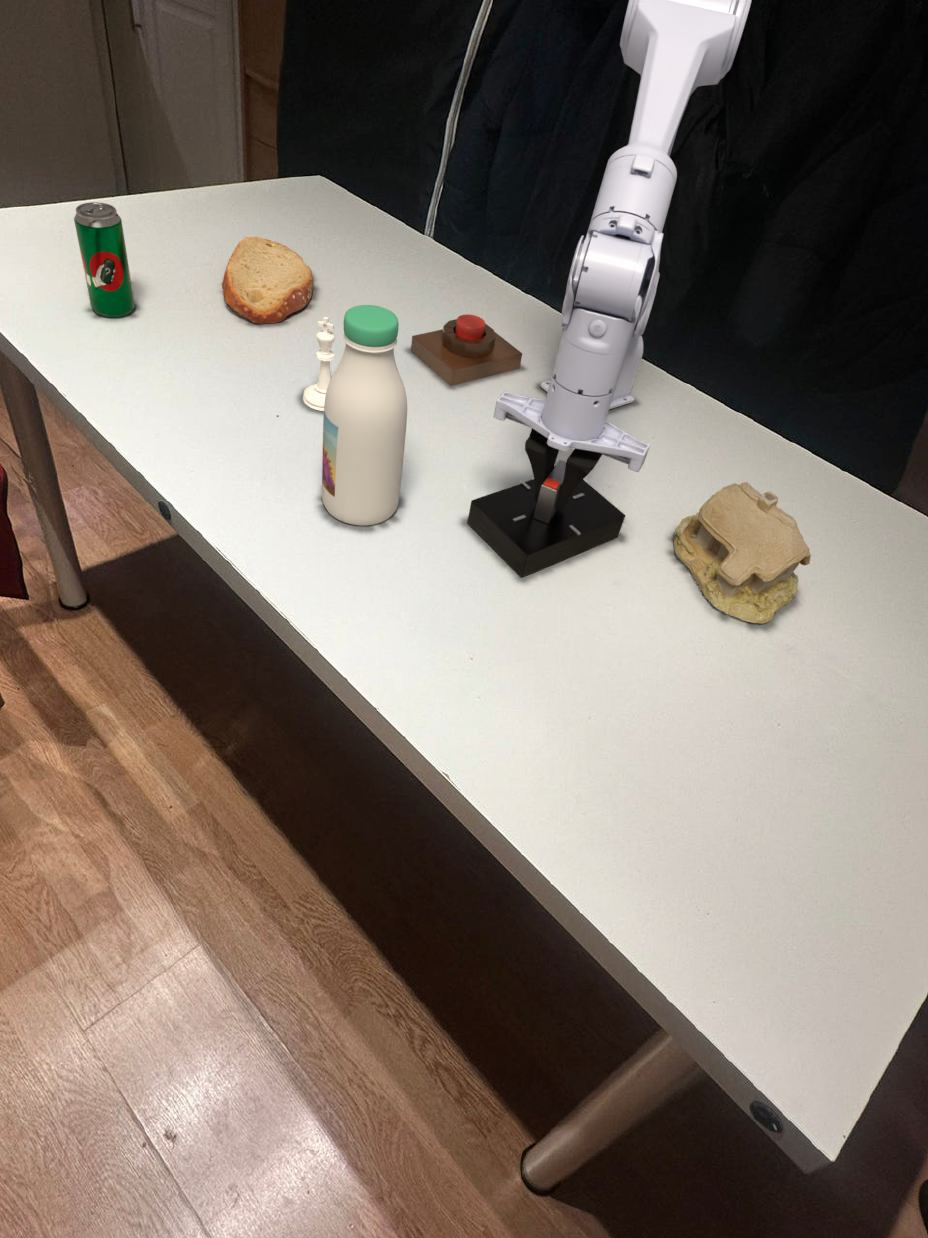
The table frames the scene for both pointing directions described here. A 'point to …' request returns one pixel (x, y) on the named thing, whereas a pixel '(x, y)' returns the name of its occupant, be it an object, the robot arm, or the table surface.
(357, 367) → the milk bottle
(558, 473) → the knob
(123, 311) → the soda can
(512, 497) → the panel
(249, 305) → the slice of bread
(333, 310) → the table surface
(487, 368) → the brown button base
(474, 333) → the button
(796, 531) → the ceramic model
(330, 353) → the chess piece
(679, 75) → the robot arm
